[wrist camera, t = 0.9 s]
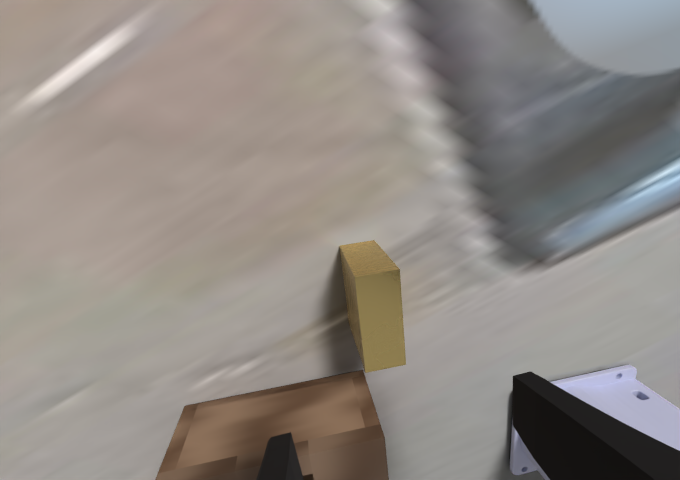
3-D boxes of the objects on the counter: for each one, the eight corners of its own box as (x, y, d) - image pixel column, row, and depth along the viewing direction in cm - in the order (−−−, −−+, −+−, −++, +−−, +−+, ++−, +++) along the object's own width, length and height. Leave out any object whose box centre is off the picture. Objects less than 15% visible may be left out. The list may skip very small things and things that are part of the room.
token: (374, 240, 18) (399, 269, 14) (380, 317, 20) (405, 364, 16) (339, 245, 18) (354, 276, 14) (349, 323, 20) (365, 372, 15)
